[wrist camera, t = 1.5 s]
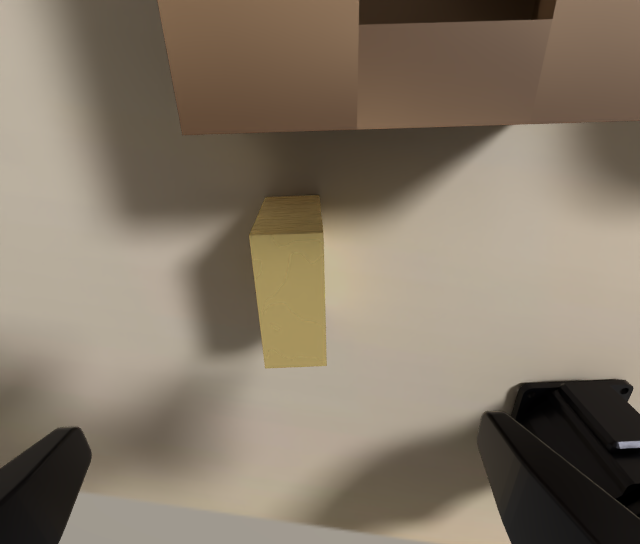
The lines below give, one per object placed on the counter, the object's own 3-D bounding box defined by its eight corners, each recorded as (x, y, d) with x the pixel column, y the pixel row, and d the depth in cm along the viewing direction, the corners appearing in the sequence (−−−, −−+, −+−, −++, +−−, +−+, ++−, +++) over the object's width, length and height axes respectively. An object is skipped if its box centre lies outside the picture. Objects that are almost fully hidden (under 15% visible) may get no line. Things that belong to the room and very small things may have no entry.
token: (322, 300, 18) (326, 365, 14) (275, 301, 18) (265, 368, 14) (319, 194, 16) (323, 232, 11) (265, 196, 16) (248, 235, 11)
